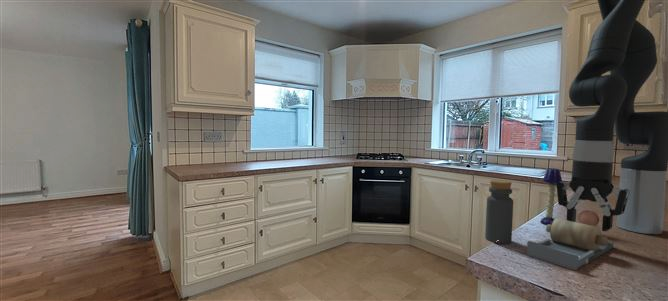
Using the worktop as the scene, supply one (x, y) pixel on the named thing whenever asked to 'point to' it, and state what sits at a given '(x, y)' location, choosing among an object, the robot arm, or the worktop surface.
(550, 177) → the toy lamp
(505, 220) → the bottle
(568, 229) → the maple rolling pin
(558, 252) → the grey long tray
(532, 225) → the worktop surface
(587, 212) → the ball
